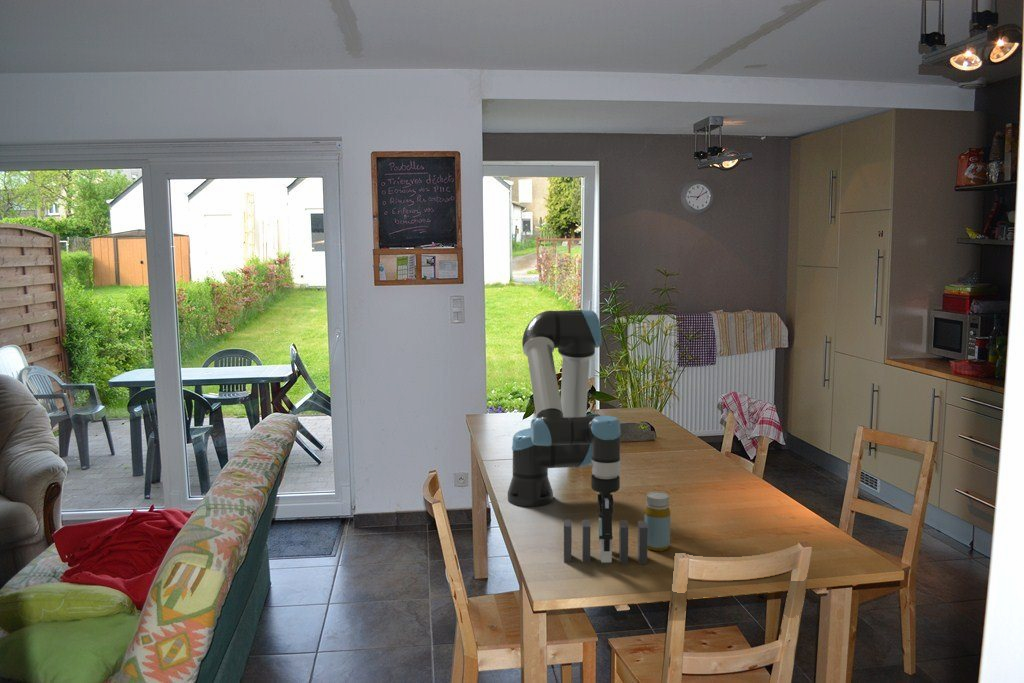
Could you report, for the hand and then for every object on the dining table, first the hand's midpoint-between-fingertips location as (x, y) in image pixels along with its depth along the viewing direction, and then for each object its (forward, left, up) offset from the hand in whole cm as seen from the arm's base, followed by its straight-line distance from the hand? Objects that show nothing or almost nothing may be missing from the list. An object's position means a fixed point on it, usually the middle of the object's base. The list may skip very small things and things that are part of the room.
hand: (604, 551), depth 206 cm
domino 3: (0, 0, -2) cm, 2 cm away
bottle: (-9, +15, -2) cm, 18 cm away
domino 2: (0, -5, -2) cm, 5 cm away
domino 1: (0, -10, -2) cm, 10 cm away
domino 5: (0, +10, -2) cm, 10 cm away
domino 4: (0, +5, -2) cm, 5 cm away
